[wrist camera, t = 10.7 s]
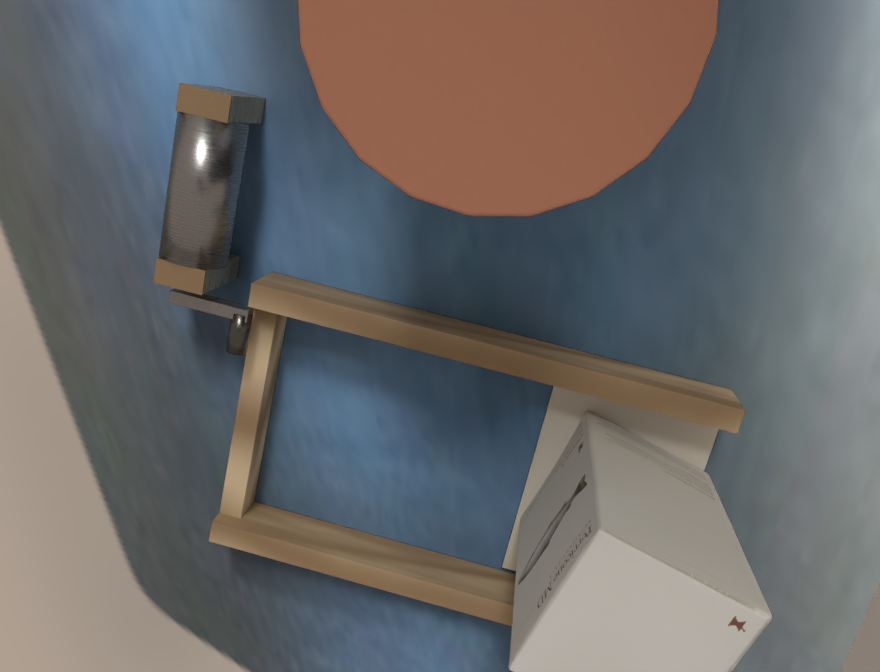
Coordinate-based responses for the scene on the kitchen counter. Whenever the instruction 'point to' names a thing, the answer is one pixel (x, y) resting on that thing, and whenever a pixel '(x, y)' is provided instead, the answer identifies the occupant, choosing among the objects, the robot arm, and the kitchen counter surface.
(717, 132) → the kitchen counter surface
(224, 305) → the winch
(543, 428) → the front mat
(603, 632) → the supplement box
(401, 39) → the coffee jar
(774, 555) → the kitchen counter surface
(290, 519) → the bay
